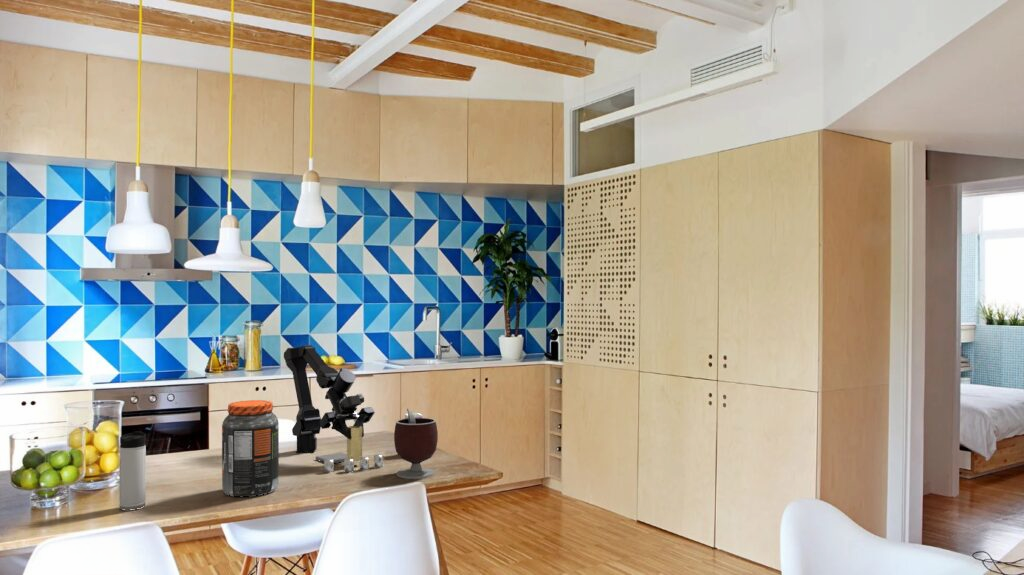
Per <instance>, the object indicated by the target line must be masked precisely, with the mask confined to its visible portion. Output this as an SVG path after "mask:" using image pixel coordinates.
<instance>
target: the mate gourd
mask: <svg viewBox="0 0 1024 575" xmlns="http://www.w3.org/2000/svg"><path fill="white" fill-rule="evenodd" d="M406 411H407V414H408V418H405V417H404V418H400V419H397V420H396V421H395V426H394V434H393V435H394V436H393V442H394V450H395V452H396V454H397V455H398V457H399V458H400V459H401V460H403V461H406V462H408V463H411V465H410V468H403V469H400V470H398V471H397V472H396V476H397V477H398V478H400V479H401V478H402V479H409V480H419V479H426V478H427V477H428V478H431V477H434V476H435V475H436V471H435V469H432V468H427V467H422V465H421V463H423V462H426V461H427V460H429V459H431V458H432V457H433V456H434V454H435V453H436V450H437V446H438V440H439V438H438V437H439V434H438V433H439V432H438V426H437V420H436V419H435V418H430V417H429V418H428V417H423V418H415V417H414V415H413V413H414V412H412V411H411V409H410V408H406ZM433 475H434V476H433ZM430 476H431V477H430Z"/></svg>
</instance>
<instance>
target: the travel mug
mask: <svg viewBox="0 0 1024 575" xmlns="http://www.w3.org/2000/svg"><path fill="white" fill-rule="evenodd" d="M146 438H147V437H146V433H144V432H143V431H134V432H129V433H125V434H123V435H121V436H120V438H119V443H120V444H119V499H118V500H119V504H118V506H119V507H118V508H120V509H125V510H130V509H137V508H141V507H143V506H145V507H146V494H147V493H146V489H147V488H146V486H147V482H146V480H147V479H146V476H147V475H146V472H147V470H146V469H147V461H146V460H147V459H146V458H147V449H146V446H147V445H146V440H147V439H146ZM120 509H119V510H120Z"/></svg>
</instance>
